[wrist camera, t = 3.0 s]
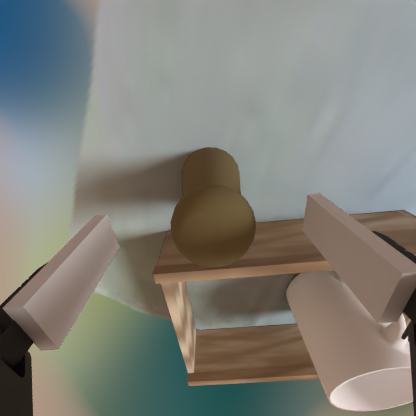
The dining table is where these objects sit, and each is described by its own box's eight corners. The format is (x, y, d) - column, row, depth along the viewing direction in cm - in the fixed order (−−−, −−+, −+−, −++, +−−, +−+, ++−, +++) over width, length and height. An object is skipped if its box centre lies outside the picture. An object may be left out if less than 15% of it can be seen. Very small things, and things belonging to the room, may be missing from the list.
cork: (251, 178, 20) (291, 245, 11) (209, 212, 22) (211, 296, 13) (211, 133, 18) (218, 166, 8) (169, 176, 20) (134, 242, 10)
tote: (166, 229, 23) (152, 274, 17) (404, 208, 22) (481, 248, 16) (192, 334, 34) (188, 385, 27) (355, 323, 32) (390, 375, 26)
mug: (280, 308, 31) (318, 412, 20) (292, 249, 25) (352, 351, 15) (340, 306, 30) (409, 410, 20) (366, 246, 25) (481, 347, 14)
